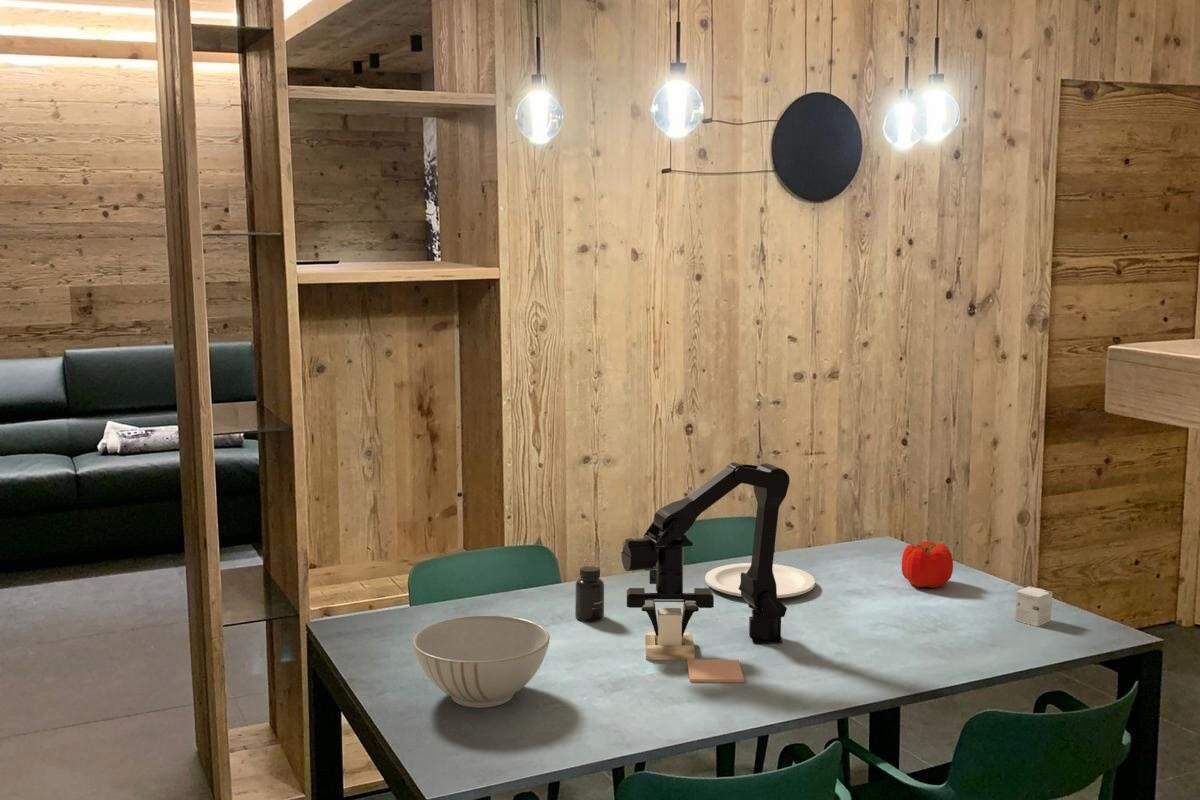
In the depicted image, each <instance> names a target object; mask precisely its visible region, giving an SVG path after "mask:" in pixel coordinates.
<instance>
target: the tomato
mask: <svg viewBox="0 0 1200 800" xmlns="http://www.w3.org/2000/svg"><path fill="white" fill-rule="evenodd" d="M953 571H954V559H953V555H952V553H951V550H950V549H949V547H948V546H947V545H945V544H943V543H935V542H933V541H929V540H926V541H921V542H919V543H916V544H907V545H906V547H905V548H904V550H903V552H902V555H901V572H902V573H901V574H902V575H903V578H905V579H906V580H907V581H908V582H909V583H910V584H911V585H913V586H915V587H917V588H925V587H928V588H930V589H937V588H939V587H941V586H944V585H946V583H947V582H948V581H949V580H950V579H951V578H952V575H953Z"/></svg>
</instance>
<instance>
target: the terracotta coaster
mask: <svg viewBox="0 0 1200 800" xmlns="http://www.w3.org/2000/svg"><path fill="white" fill-rule="evenodd" d="M686 664H687V672H688V679H689V682H690V683H744V682H745V678H744V674H743V671H742V670H743V669H742V667H741V663H740V659H695V660H686Z"/></svg>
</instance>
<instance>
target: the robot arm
mask: <svg viewBox="0 0 1200 800" xmlns="http://www.w3.org/2000/svg"><path fill="white" fill-rule="evenodd" d="M790 479H791V478H790V475H789V474H788V473H787V471H786V470H784V469H783V468H781V467H778V466H776V465H775V464H774V465H773V464H771V463H768V462H764V463H761V464H760V465H754V464H747V463H745V464H744V463H739V462H736V461H735V462H731V463H728V464H727V465H726V467H725V468H724V469H722V470H721V471H720V472H718V473H717V474H716V475H714V476H713V477H712V478H711V479H709V480H707V481H706V482H705V483H703V485H701V486H700V487H699V488H697V489H696V490H694V491H693V492H692V493H690V494H689V495H688V496H687V497H684V498H682V499H679V500H676V501H673V502H671V503H669V504H667V505H665V506H663V507H661V508H659V509H658V510H657V511H656V512H655V514H654V517H653V521H652V522H651V524H650V525H649V527H648V528H647V529H646V532H644V534H643V537H642V538H626V539H625V544H624V545H623V546H622V551H621V553H620V556H621V562H622V567H623V569H624V571H625V572H633V571H634V572H635V571H643V570H649V574H648V575H649V581H648V582H649V584H650V585H655V591H656V592H645V591H646V590H645V589H646V588H645V587H629V588H627V590H626V608H629V609H631V608H632V609H633V608H634V609H635V608H636V609H638V608H639V609H640V608H641V611H642V612H646V614H647V616H648V618H649V620H650V622H651V625H652V626H653V631H654V632H655V633H656V636H658V615H657V610H656V603H665V602H666V603H683V607H682V608H683V610H682V636H683V634H684V632H686V629H687V626H688V624H689V621H690V620H691V619H692V618H691V617H693V614H694V613H695V612H696V613H697V612H699V610H700V609H712V608H713V609H714V608H715V603H714V601H715V598H714V593H713V590H712V589H711V587H708V588H707V587H705V588H704V587H696V588H695V587H694V589H693V592H684V548H685V547H692V546H694V543H693V542H692V541H691V540H690V539H689V538H688V537H687V535H686V534H687V532H688V531H690V529H691V528H692V527H693V526H694V524H695V522H696V521H697V519H698V517H699V516H700V515H701V514H702V513H704V512H705V511H707V510H708V509H710V507H711V506H713V505H714V504H716V503H717V502H719V500H721V499H722V498H723V497H725V496H726V495H728V494H729V493H730V492H731V491H733V490H734V489H735V488H737V487H738V486H739V485H740V484H745V485H749V486H753V493H754V496H755V498H756V503H757V506H756V515H755V517H756V518H755V525H754V535H753V544H752V545H753V546H752V553H751V562H750V563H751V567H750V569H749V570H748V572H747V573H743V572H742V573H741V583H740V586H739V590H740V591H741V596H742V599H743V600H744V601H745V602H747V605H748V608H749V609H751V616H749V617H748V635H749V638H750V639H751V640H752V643H754V644H782V643H783V640H782V637H781V636H782V618H784V617H785V616H786V613H787V611H788V610H787V609H788V608H787V606H785V605H784V604H783V603H782V602H781V601H780V600H779V598H777V588H776V582H775V578H774V574H773V570H772V568H773V564H774V557H775V547H776V538H777V531H778V530H777V529H778V520H779V510H780V506H781V505H782V503H783V502H784V500H785V498H786V497H787V493H788V490H789V487H790V481H791V480H790ZM660 533H661V535H660ZM654 567H656V569H653V568H654ZM741 596H740V597H741Z"/></svg>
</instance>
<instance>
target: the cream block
mask: <svg viewBox="0 0 1200 800" xmlns="http://www.w3.org/2000/svg"><path fill="white" fill-rule="evenodd" d="M682 615H683V613H682V608H681V607H657V623H658V645H682Z"/></svg>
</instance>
